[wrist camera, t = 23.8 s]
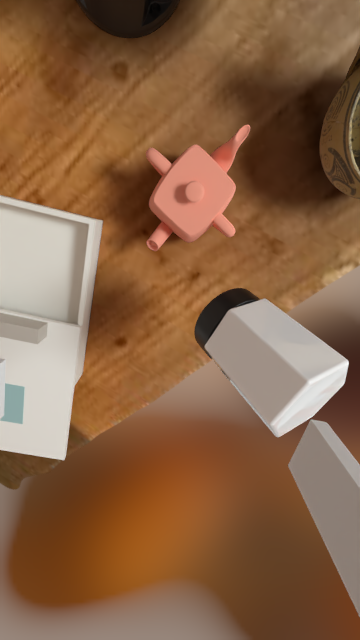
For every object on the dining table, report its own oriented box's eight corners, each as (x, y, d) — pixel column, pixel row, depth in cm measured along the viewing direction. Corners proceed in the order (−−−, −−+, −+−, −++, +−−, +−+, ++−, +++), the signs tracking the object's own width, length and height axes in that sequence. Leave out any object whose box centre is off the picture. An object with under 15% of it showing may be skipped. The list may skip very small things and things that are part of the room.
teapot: (223, 250, 43) (238, 256, 33) (150, 247, 42) (143, 252, 33) (233, 148, 38) (252, 122, 29) (151, 144, 38) (142, 116, 28)
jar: (365, 364, 22) (267, 293, 30) (331, 359, 17) (223, 274, 25) (298, 432, 25) (225, 352, 33) (252, 446, 20) (178, 346, 28)
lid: (-63, 295, 40) (-86, 301, 37) (81, 325, 42) (73, 334, 39) (-54, 437, 49) (-72, 453, 46) (65, 456, 51) (57, 474, 48)
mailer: (-46, 183, 39) (-69, 178, 35) (102, 220, 41) (95, 219, 37) (-39, 350, 48) (-58, 360, 44) (82, 373, 50) (74, 385, 46)
